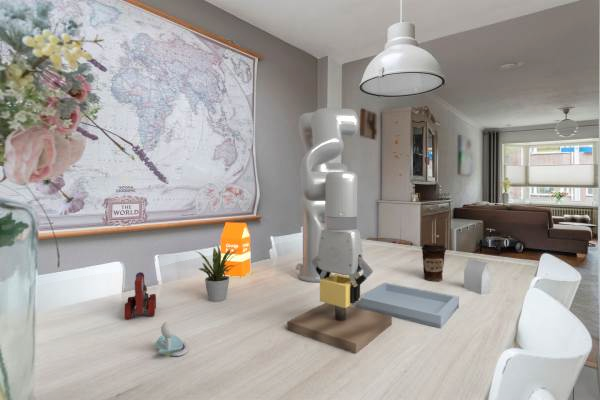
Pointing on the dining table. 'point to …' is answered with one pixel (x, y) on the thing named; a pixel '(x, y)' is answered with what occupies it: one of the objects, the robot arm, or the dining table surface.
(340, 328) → the board
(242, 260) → the orange juice
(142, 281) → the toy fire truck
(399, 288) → the tray
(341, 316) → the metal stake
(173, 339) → the pacifier
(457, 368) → the dining table surface
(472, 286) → the grey house shaped block
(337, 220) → the robot arm
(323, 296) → the collar
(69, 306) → the dining table surface
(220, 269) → the house plant
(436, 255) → the coffee cup
